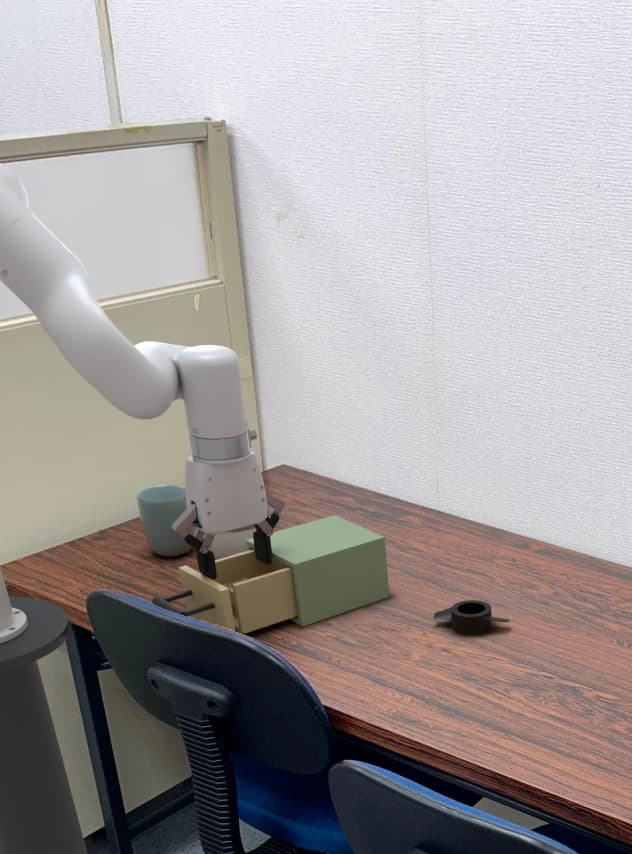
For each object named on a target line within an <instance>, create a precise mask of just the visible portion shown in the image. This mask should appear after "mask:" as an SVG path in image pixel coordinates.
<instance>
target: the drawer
mask: <svg viewBox="0 0 632 854" xmlns="http://www.w3.org/2000/svg"><path fill="white" fill-rule="evenodd" d="M271 561H272V563H271V564H265V563H264V562H262V561H260V560H258V559H256V556H255V549H253V550H249V551H246V552H242V553H239V554H235V555H232V556H228V557H225V558H221V559H218V560H216V559H215V565H216V572H217V578H216V579H214V580H212V579H210V578H208V577H206V576H205V575H203V574H202V573H201V572H200V570H199V568H198V564H197V565H196V566H197V570H195V569H193V568H191V567H190V566H188V565H187V564H186V565H181V566H178V573H179V579H180V584H181V590H182V591H181V592H178V593H175V594H171V595H168V596H165V597H160V596H154V597H153V598H152V600H151V604H152V603H153V604H155V605H157V606H159V607H161V608H163V609H166V610H169V611H172V612H175V613H178V614H181V615H184V616H186V617H187V616H190V617H193V618H196V619H199V620H204V621H207V622H210V623H213V624H217V625H219V626H224V627H226V628H229V629H232V630H235V632H238V631H239V632H241V633H244V634H243V635H245V634H248V633H251V632H253V631H257V630H260V629H263V628H265V627H269V626H272V625H274V624H277V623H281V622H284V621H287V620H289V619H290V618H293V617H296V616H298V609H297V601H296V593H295V585H294V577H293V569H292V567H290V566H288V565H286V564H284V563H282V562H280V561H278V560H276V559H274V558H272V557H271ZM243 578H246V579H248V580H245V581H242V582H238V583H235V584H232V587H233V593H234V600H235V606H236V613H237V618H235V617H233V613H232V606H231V600H230V594H229V589H228V588H226V587H224V586H223V584H226V583H230V582H233V581H236V580H240V579H243ZM181 599H183V600H184V606H185V611H184V610H183V609H180V608H179V607H178V606H175V605H174V604H172V603H171V602H173V601H177V600H181ZM153 604H152V605H153ZM239 632H238V633H239ZM241 633H240V634H241Z"/></svg>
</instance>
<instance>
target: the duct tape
mask: <svg viewBox="0 0 632 854" xmlns="http://www.w3.org/2000/svg"><path fill="white" fill-rule="evenodd" d="M492 610H493V609H492V606H491V604H490V603H488V602H486V601H483V600H478V599H477V600H475V599H467V600H462V601H458V602H456V603H454V604H452V606H451V607H448V608H445V609H442V610H439V611H436V612H434V614H433V621H450V622H451V629H452V631H453V632H455V633H456V634H458V635H462V636H480V635H484V634H486V633H489V632H490V631H491V630H493V629H492V628H493V622H497V623H509V622H510V621H511V620H510V618H502V617H496V616H493V615H492V614H493V613H492Z"/></svg>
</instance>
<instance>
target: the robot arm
mask: <svg viewBox="0 0 632 854" xmlns="http://www.w3.org/2000/svg"><path fill="white" fill-rule="evenodd" d="M0 282H1V283H2V284H3V285H4V286H5V287H6V288H7V289H9V291H11V293H13V294H14V296H15V297H17V298H18V299H19V300H20V302H22V303H23V304H24V305H25V306H26V307H27V308H28V309H29V310H30V311H31V312H32V314H34V316H35V318H36V319H37V321H38V323H39V324H40V326H41V328H42V329H43V331H44V332H45V333H46V334H47V335H48V338H50V340H51V341H52V342H53V344H54V345H55V347H56V348H57V349H58V351H59V352H60V353H61V355H62V356H63V357H64V358H65V360H66V361H67V362H68V363H69V365H70V366H71V367H72V368H73V369H74V371H76V372H77V373H78V374H79V375H80V376H81V377H82V378H83V379H84V380H85V381H86V382H87V383H88V384H89V385H90V386H91V387H92V388H93V389H95V391H97V392H98V393H99V394H100V395H101V396H102V397H103V398H104V399H105V400H106V401H107V402H109V403H110V405H112V406H113V407H115V408H116V409H117V410H118V411H120V412H121V413H123V414H125V415H126V416H128V417H132V418H134V419H136V420H137V419H138V420H152V419H157V418H158V417H161V416H163V414H165V413H166V412H167V411H168V410H169V408H170V407H171V405H172V403H173V402H175V401H177V400H182V401H183V403H184V409H185V416H186V422H187V430H188V438H189V443H190V450H191V455H189V456H186V458H185V469H184V471H185V472H184V488H185V492H186V506H187V509H186V510H185V511H184V512H183V514H182V515H181V516H180V517H179V518H178V519H177V520H176V521H175V522H174V523H173V524H172V526H171V528H172V530H173V531H174V532H175V533H176V534H177V535H178V536H179V537H180V538H181V539H182V540H183V541H184V542H186V543H187V544H189V545H190V546H192V548H193V549H195V554H196V561H197V565H198V567H197V569H198V568H199V570H200V572H201V573H202V574H203V575H205V576H206V577H208V578H210V579H212V580H214V579H216V578H217V572H216V565H215V560H216V559H215V558H214V553H213V552H212V551H210V550H209V549H210V546H211V544H212V541H213V539H214V537H215V534H219V533H224V532H228V531H232V530H236V529H239V528H243V527H247V526H251V525H253V526H254V527H255V529H256V531H255V532H253V533H254V534H253V540H254V548H255V556H256V559H258V560H260V561H262V562H264V563H265V564H271V563H272V561H271V555H272V548H271V539H270V536H272V535H273V533H274V532H275V531H274V529H275V527H276V526H277V524H278V523H279V522H280V516H281V514H282V513H283V510H284V507H285V505H286V502H285V500H282V499H280V498H279V497H277V496H274V495H272V494H270V493H268V492H266V487H265V483H264V478H263V475H262V471H261V467H260V463H259V462H258V459H257V455H256V453H255V450H252V443H251V442H252V441H254V440H255V441H256V440H257V438H258V433H257V431H256V430H255V429H249V428H248V421H247V413H246V403H245V395H244V389H243V379H242V371H241V364H240V359H239V356H238V355H237V353H236V352H235V351H234V350H233V349H232V348H230V347H227V346H224V345H215V344H205V345H204V344H201V345H193V346H186V345H179V344H172V343H166V342H160V341H142V342H139V343H136V344H133V343H132V342H131V341H130V340H129V339H128V338H127V337H126V336H125V335H124V334H123V333H122V332H121V331H120V330H119V329H118V328H117V326H116V325H115V324H114V323H113V321H111V319H110V318H109V317H108V315H107V314H106V313H105V311H104V310H103V308H102V306H101V305H100V303H99V301H98V299H97V297H96V295H95V293H94V290H93V286H92V284H91V280H90V276H89V275H88V272H87V270H86V268H85V266H84V265H83V263H82V261H81V260H80V259H79V258H78V257H77V256H76V255H75V254H74V252H72V251H71V250H70V249H69V248H68V247H67V246H66V245H65V244H64V243H63V242H62V241H61V240H60V239H58V238H57V236H55V234H54V233H53V232H52V231H51V230H50V229H49V228H48V227H46V225H45V224H43V223H42V222H41V220H39V218H38V217H37V216H36V215H35V214H33V212H32V211H30V209H29V199H28V195H27V191H26V188H25V187H24V185H23V183H22V182H21V180H20V179H19V177H18V176H17V175H16V173H14V172H13V171H12V170H11V169H10V168H9V167H7V166H6V165H4V164H3V163H1V162H0ZM268 504H269V509H268ZM189 525H191V526H193V527H194V528H196V529H195V530H194V532H195V534H194V536H192V535H191V534H190V532H189V531H188V527H189ZM9 597H10V596H9V592H8V589H7V585H6V582H5V577H4V573H3V571H2V566H1V565H0V644H1V643H4V642H7V641H9V640H11V639H13V638H15V637H17V636H19V635H20V634H21V633H22V632H23V631H24V630H25V629H26V628H27V626H28V621H27V617H26V615H25V614H24V612H22V611H20V610H19V609H16V608H13V607H11V604H10V600H9Z"/></svg>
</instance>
